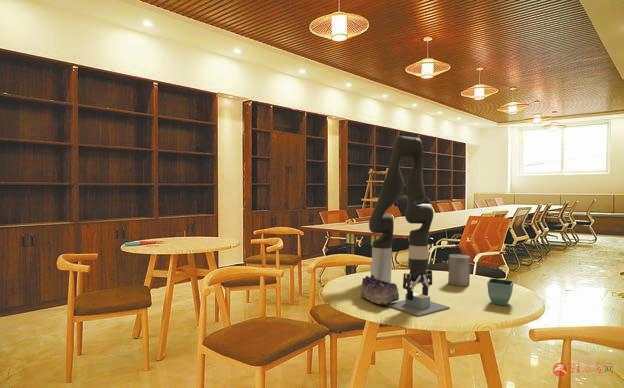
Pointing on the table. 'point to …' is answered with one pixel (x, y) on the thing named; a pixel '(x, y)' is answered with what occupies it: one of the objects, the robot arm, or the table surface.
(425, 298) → the card box
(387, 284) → the geode
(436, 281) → the table surface
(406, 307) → the rubber mat
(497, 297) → the flower pot
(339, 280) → the table surface
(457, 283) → the pillar candle
